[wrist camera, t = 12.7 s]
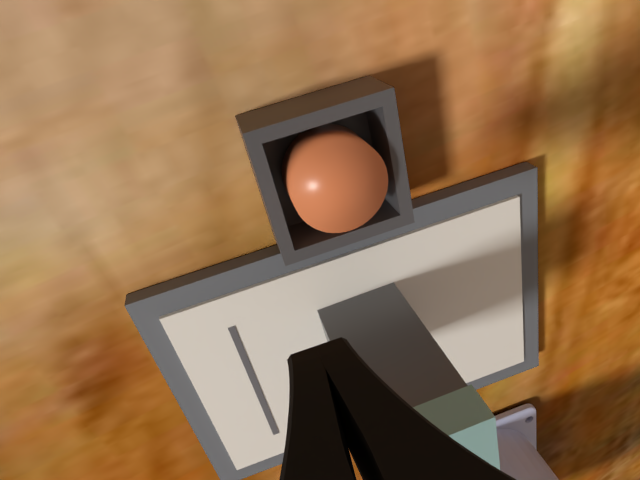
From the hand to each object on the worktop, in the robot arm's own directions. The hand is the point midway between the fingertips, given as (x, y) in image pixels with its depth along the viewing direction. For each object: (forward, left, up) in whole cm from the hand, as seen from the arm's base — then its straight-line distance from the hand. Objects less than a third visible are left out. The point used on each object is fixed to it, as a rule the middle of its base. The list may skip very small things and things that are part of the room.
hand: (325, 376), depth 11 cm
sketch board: (-8, -3, -10) cm, 13 cm away
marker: (-7, -3, -9) cm, 11 cm away
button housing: (+1, -3, -10) cm, 10 cm away
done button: (+1, -3, -9) cm, 9 cm away
